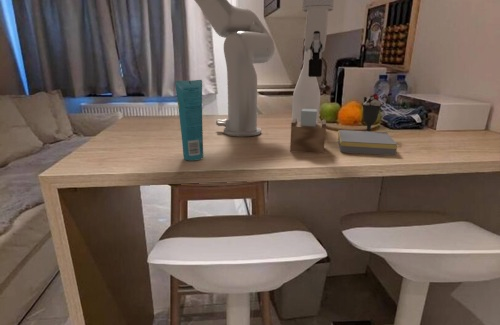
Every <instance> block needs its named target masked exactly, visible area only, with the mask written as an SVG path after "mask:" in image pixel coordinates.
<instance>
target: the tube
mask: <svg viewBox="0 0 500 325" xmlns="http://www.w3.org/2000/svg"><path fill="white" fill-rule="evenodd" d="M174 84H175V93H176V99H177V100H176V101H177V107H178V115H179V123H180V133H181V142H182V153H183V159H184V160H185V161H190V162H191V161H200V160H202V159H203V158H204V140H203V139H204V135H203V133H204V131H203V80H202V79H192V80H175V81H174Z"/></svg>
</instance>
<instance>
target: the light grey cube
mask: <svg viewBox="0 0 500 325" xmlns="http://www.w3.org/2000/svg"><path fill="white" fill-rule="evenodd" d="M316 117H317V109H302V111H301V125H300V126H314V127H316Z"/></svg>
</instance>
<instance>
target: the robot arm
mask: <svg viewBox="0 0 500 325" xmlns="http://www.w3.org/2000/svg"><path fill="white" fill-rule="evenodd" d="M194 1H195V3H196V5H197V6H198V7H199V8H200V10H201V11H202V13H203V15H204V16H205V17H206V19H207V21H208V23H209V24H210V25H211V27H212V29H213V30H214V31H215V33H216V34H217V35H218V36H219V37H222V38H225V39H224V42H223V54H224V60H225V64H226V76H227V77H226V78H227V80H226V81H227V118H225V119H218V118H217V119H216V121H215V125H216V126H217V127H224V128H223V134H225V135H227V136H231V137H237V138H239V137H240V138H241V137H243V138H244V137H245V138H246V137H253V136H258V135H260V134H262V128H261V127H258V122H257V121H258V75H257V71H256V69H255V67H254V64H264V63H268V62H269V61H270V60H271V59H272V58H273V56H274V54H275V49H276V47H275V42H274V40H273V38H272V36H271V34H270V33H269V31H268V29H267V28H266V27H265V26H264V24H263V23H262V21H261V20H260V18H259V17H258V16H257V15H256V13H255V12H254V11H252V10H250V9H248V8H245V7H240V6H234V5H232V4H231V3H230V2H229V0H194ZM334 2H335V0H302V12H304V13H306V14H305V16H306V17H305V30H304V41H305V46H304V52H308V50H310V60H309V72H308V76H309V77H317V78H320V77H322V74H323V72H322V71H323V59H322V57H323V55H322V54H323V52H324V51H325V47H326V42H327V34H328V22H329V19H328V18H329V12H332V11H333V10H334V4H335V3H334ZM312 54H313V55H312Z"/></svg>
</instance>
